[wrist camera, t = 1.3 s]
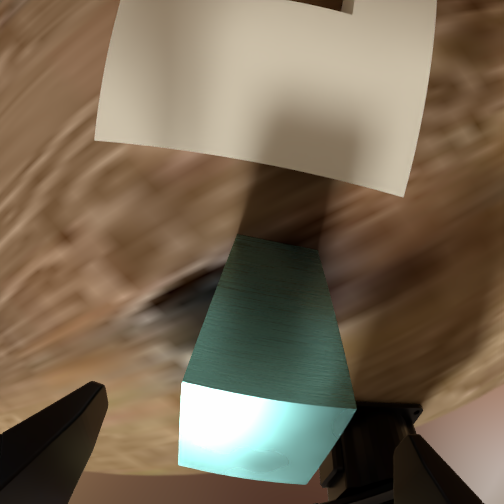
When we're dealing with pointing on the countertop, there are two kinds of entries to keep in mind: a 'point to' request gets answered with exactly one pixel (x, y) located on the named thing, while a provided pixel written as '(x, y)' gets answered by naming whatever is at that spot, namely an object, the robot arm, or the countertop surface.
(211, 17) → the beige square hole board
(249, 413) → the teal rectangular block
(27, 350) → the countertop surface
